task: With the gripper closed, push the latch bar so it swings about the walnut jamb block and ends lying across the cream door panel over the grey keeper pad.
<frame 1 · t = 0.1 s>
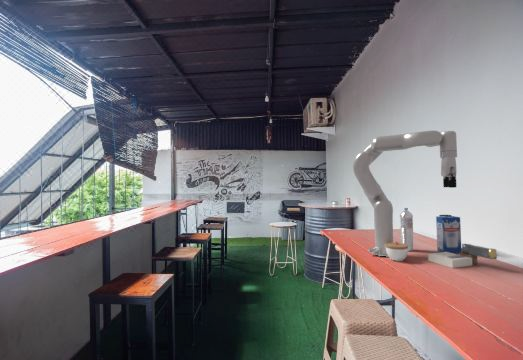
hand: (449, 187, 153), 37 cm above the table, tool pointing down, fingers open, 9 cm apart
water bottle: (407, 250, 173), on the table
lidded jar: (397, 260, 152), on the table
latch bar: (478, 251, 137), point 7 cm above the table, hinge at 0.0°
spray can: (446, 248, 175), on the table
milk carton: (449, 252, 166), on the table
door panel: (449, 262, 144), on the table
jamb block: (468, 262, 143), on the table
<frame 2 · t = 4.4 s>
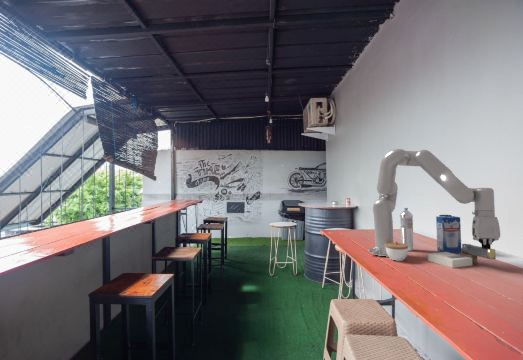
hand: (486, 252, 137), 6 cm above the table, tool pointing down, fingers closed
latch bar: (478, 251, 137), point 7 cm above the table, hinge at 3.1°, touching gripper
everything else where it was.
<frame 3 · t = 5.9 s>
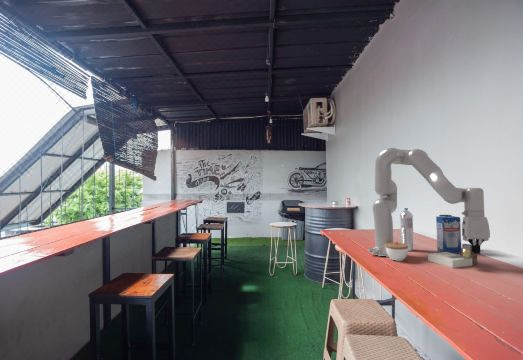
hand: (476, 253, 136), 6 cm above the table, tool pointing down, fingers closed
latch bar: (466, 250, 138), point 7 cm above the table, hinge at 52.0°, touching gripper
everything else where it was.
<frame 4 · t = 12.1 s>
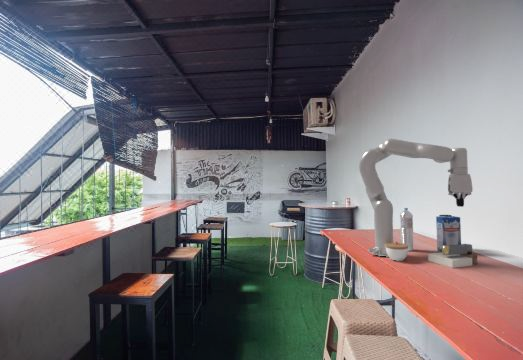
hand: (460, 206, 153), 27 cm above the table, tool pointing down, fingers closed
latch bar: (457, 249, 142), point 7 cm above the table, hinge at 95.6°
everything else where it was.
at the end: latch bar at +96° (first picture: +0°); latch bar 0.0 cm from the target spot, resting on jamb block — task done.
